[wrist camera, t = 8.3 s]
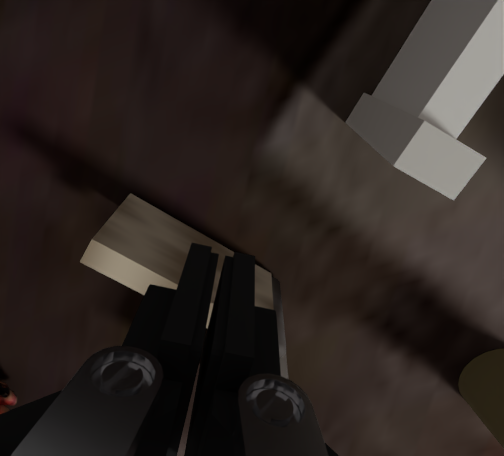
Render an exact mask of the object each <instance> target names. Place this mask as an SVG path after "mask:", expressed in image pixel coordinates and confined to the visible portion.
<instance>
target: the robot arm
mask: <svg viewBox="0 0 504 456" xmlns="http://www.w3.org/2000/svg"><path fill="white" fill-rule="evenodd" d="M211 250H212V247H210V246H206V245H201V244H197V243H191V246H190V249H189V252H188V255H187V259H186V262H185V265H184V268H183V271H182V274H181V277H180V280H179V283H178V286H177V289H171V288H167V287H162V286H157V285H152V284H150V285H149V286H148V288H147V291H146V293H145V295H144V297H143V300H142V302H141V304H140V306H139V309H138V311H137V313H136V315H135V318H134V320H133V322H132V324H131V327H130V329H129V331H128V333H127V336H126V338H125V340H124V342H123V345H122V346H114V347H109V348H105V349H102V350H100V351H98V352H96V353H94V354H93V355H92V356H91V357H90V358H88V359H87V360H86V361H85V363H84V364H83V365H82V366H81V368H80V369H79V370H78V371H77V373H76V374H75V375H74V376H73V378H72V379H71V380H70V381H69V383H68V384H67V385H66V386H65V388H64V389H63V390H61V391H59V392H56V393H54V394H51V395H48V396H46V397H43V398H41V399H38V400H36V401H33V402H30V403H28V404H25V405H23V406H20V407H18V408H15V409H12V410H10V411H7V412H5V413H2V414H0V456H177V452H178V448H179V444H180V440H181V435H182V431H183V427H184V423H185V419H186V415H187V411H188V406H189V402H190V398H191V394H192V390H193V386H194V381H195V377H196V373H197V369H198V365H199V361H200V356H201V352H202V347H203V352H202V357H201V363H200V369H199V375H198V380H197V386H196V392H195V398H194V403H193V409H192V415H191V421H190V426H189V432H188V438H187V444H186V449H185V455H184V456H338V455H337V454H336V453H335V452H334V451H333V450H332V449H331V448H330V447H329V446H328V445H327V444H326V443H324V439H323V436H322V433H321V430H320V427H319V424H318V421H317V418H316V415H315V412H314V409H313V406H312V403H311V402H310V400H309V398H308V396H307V394H306V393H305V392H304V391H303V390H302V389H301V388H300V387H299V386H298V385H297V384H295V383H294V382H292V381H291V380H289V379H286V378H284V377H282V376H281V369H280V356H279V342H278V329H277V316H276V311H275V310H272V309H267V308H263V307H258V306H255V256H252V255H247V254H243V253H238V252H234V255H233V257H231V256H226V255H225V259H224V263H223V267H222V271H221V275H220V279H219V283H218V288H217V292H216V296H215V300H214V304H213V308H212V312H211V317H210V321H209V325H208V329H207V333H206V337H205V331H206V325H207V320H208V314H209V308H210V303H211V297H212V291H213V286H214V280H215V274H216V268H217V263H218V257H219V254H217V253H212V252H211ZM204 337H205V342H204ZM203 342H204V346H203Z"/></svg>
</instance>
